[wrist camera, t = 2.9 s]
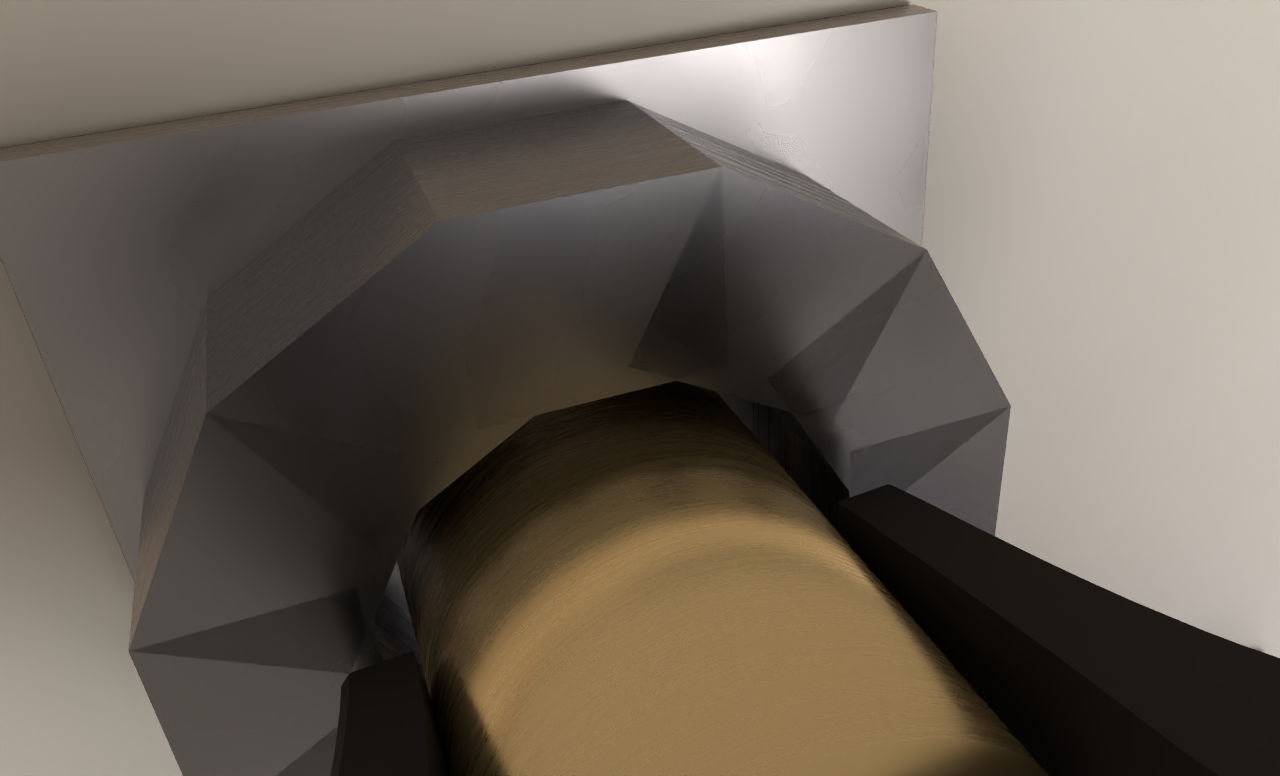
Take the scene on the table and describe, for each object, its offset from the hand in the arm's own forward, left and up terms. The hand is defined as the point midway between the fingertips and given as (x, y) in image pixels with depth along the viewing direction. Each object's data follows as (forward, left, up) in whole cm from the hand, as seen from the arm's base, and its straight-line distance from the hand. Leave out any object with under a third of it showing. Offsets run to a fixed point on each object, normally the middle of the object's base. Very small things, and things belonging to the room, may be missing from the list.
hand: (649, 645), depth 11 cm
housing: (0, 0, -4) cm, 4 cm away
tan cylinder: (0, 0, -3) cm, 3 cm away
